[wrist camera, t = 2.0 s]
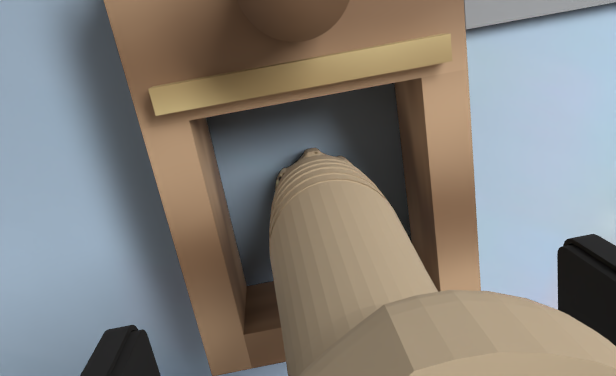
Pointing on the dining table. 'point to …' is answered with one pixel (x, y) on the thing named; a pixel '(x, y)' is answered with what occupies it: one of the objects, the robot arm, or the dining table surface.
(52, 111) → the dining table surface
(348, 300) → the handle
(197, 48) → the body
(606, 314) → the robot arm
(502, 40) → the dining table surface
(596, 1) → the mat
